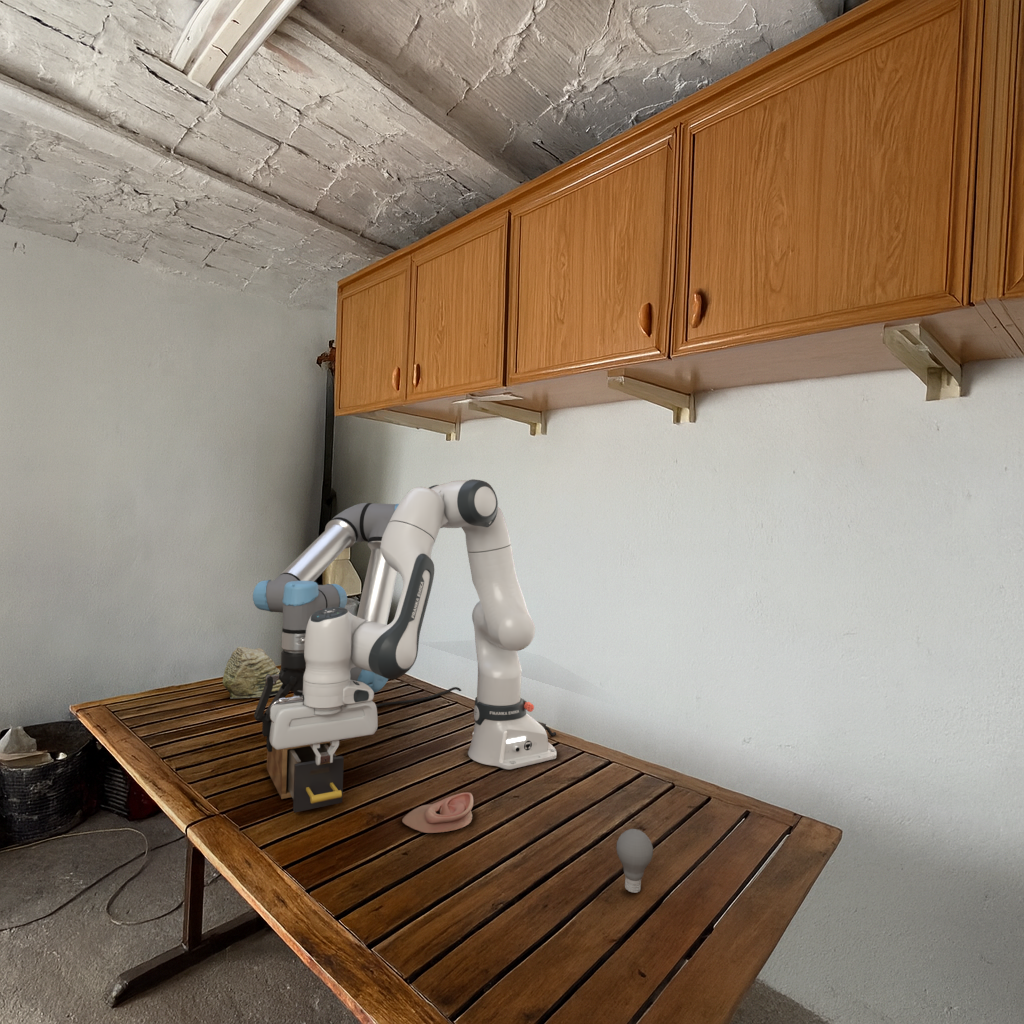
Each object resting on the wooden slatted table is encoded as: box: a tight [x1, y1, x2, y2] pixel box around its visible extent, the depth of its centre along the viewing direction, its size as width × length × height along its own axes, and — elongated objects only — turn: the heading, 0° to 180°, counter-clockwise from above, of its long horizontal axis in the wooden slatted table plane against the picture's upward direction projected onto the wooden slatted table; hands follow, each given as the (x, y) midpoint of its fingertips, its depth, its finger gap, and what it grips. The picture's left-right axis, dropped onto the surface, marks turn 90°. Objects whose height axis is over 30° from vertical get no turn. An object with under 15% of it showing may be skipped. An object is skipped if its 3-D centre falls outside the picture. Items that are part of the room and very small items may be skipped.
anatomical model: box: [401, 791, 474, 834], centre depth 126 cm, size 13×4×12 cm
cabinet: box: [266, 742, 331, 800], centre depth 141 cm, size 17×11×11 cm, turn 31°
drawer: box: [286, 743, 345, 813], centre depth 130 cm, size 21×9×9 cm, turn 31°
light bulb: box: [615, 828, 654, 894], centre depth 106 cm, size 6×6×10 cm
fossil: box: [222, 646, 282, 699], centre depth 198 cm, size 9×18×15 cm, turn 132°
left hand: (295, 745), depth 145 cm, fingers closed on cabinet, 11 cm apart
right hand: (323, 763), depth 123 cm, fingers closed
